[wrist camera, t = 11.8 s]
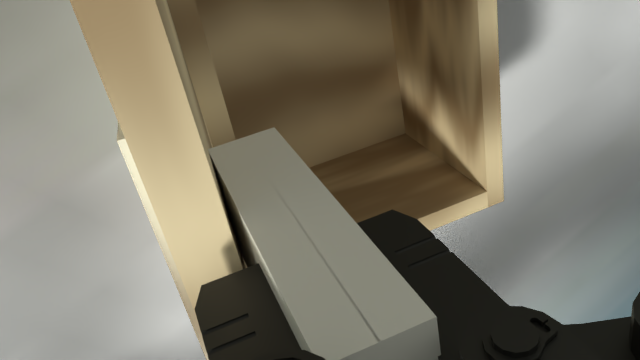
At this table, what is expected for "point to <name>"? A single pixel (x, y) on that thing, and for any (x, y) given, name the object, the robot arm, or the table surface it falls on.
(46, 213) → the table surface
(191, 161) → the flap
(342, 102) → the open wooden box
